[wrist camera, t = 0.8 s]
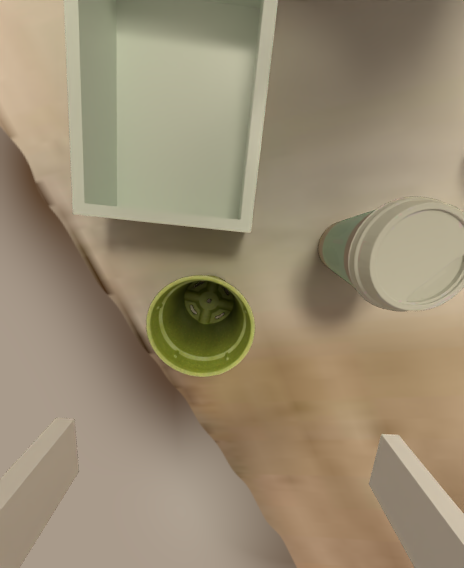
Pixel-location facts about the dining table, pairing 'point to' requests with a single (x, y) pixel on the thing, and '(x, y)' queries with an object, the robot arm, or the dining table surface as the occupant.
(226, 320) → the plant pot
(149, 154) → the box
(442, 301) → the coffee cup
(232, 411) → the dining table surface
